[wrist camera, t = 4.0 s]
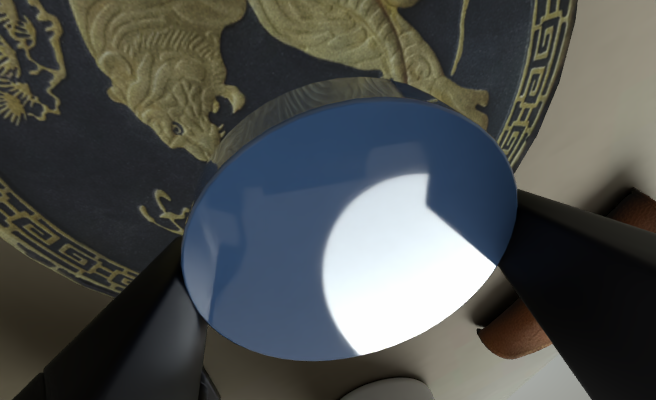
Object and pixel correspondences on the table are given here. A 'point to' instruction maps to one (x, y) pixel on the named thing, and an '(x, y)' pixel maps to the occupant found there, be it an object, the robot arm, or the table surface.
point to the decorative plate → (222, 100)
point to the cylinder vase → (392, 390)
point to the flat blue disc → (345, 220)
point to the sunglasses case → (517, 321)
